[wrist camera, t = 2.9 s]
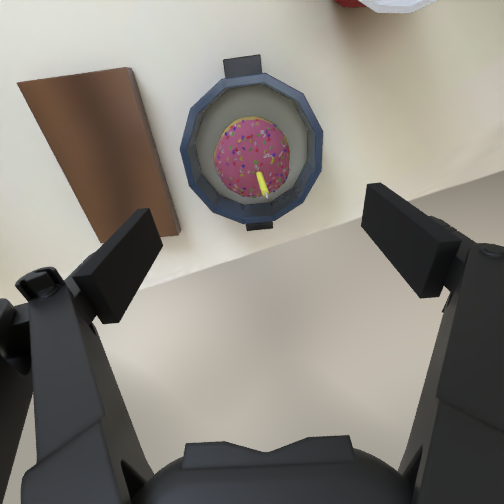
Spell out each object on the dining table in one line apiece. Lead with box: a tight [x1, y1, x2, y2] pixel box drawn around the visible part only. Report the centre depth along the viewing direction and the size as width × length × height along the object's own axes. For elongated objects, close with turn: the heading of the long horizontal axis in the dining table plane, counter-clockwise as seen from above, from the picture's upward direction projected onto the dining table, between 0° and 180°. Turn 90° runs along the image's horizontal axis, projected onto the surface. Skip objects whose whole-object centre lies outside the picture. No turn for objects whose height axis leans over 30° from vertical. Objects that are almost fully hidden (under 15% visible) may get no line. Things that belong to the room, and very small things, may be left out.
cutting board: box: [17, 67, 181, 243], centre depth 32 cm, size 12×20×2 cm, turn 6°
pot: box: [180, 54, 323, 231], centre depth 30 cm, size 16×19×4 cm
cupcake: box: [214, 116, 290, 199], centre depth 26 cm, size 9×8×12 cm
